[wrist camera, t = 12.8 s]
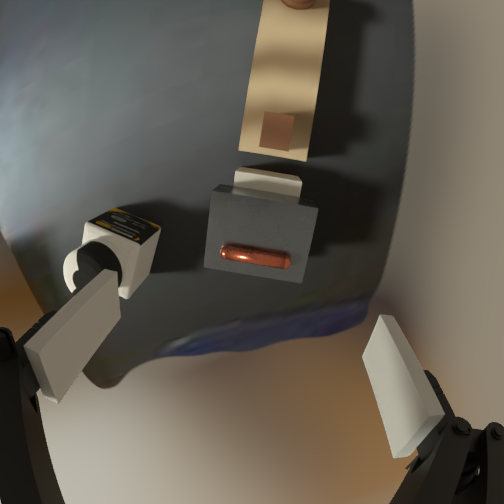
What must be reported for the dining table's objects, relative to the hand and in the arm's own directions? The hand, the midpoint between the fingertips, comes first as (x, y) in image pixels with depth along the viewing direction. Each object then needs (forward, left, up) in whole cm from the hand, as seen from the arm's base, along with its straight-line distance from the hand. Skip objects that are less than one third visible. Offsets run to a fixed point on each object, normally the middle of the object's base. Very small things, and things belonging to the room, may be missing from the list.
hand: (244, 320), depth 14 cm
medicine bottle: (+6, -16, -22) cm, 28 cm away
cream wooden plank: (-17, 0, -22) cm, 27 cm away
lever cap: (0, 0, -17) cm, 17 cm away
